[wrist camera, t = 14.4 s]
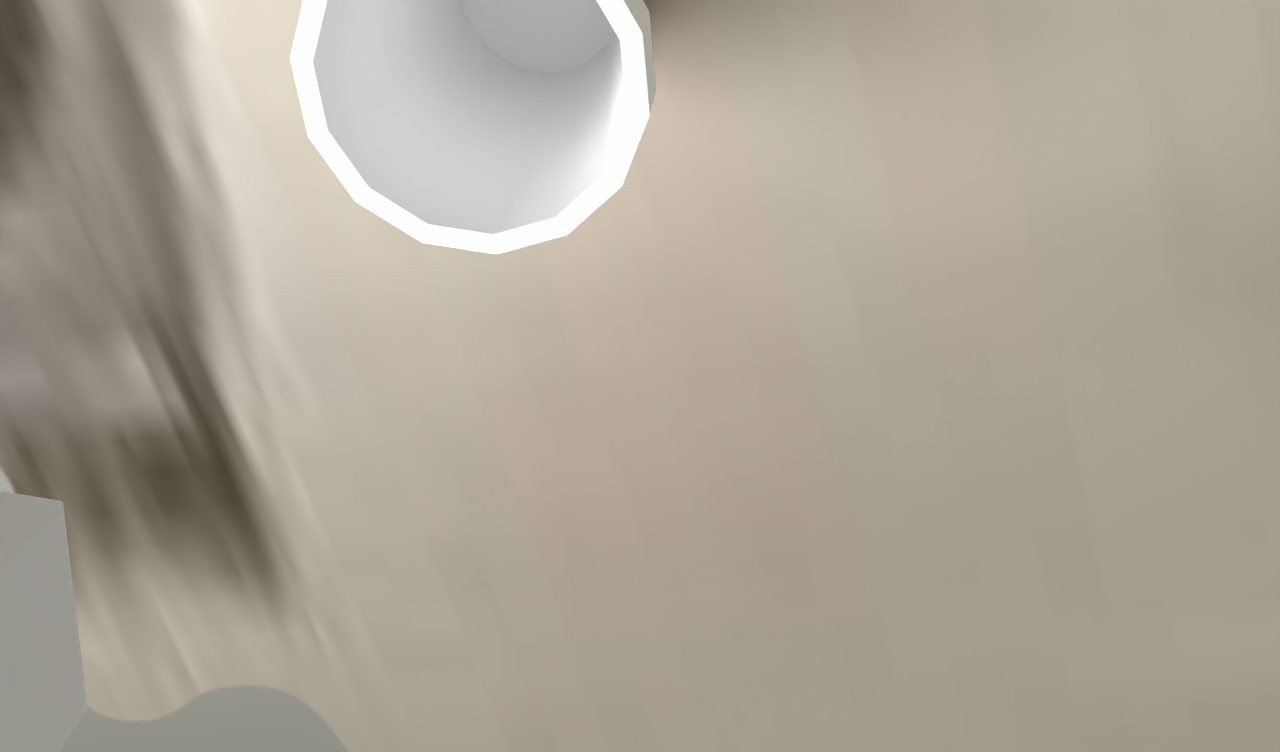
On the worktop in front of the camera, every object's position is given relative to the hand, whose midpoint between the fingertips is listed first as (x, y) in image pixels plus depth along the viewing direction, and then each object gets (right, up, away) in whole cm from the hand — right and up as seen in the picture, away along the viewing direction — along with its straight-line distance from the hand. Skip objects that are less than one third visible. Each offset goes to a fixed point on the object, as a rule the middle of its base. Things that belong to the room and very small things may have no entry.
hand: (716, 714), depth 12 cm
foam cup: (-4, +17, +31) cm, 36 cm away
